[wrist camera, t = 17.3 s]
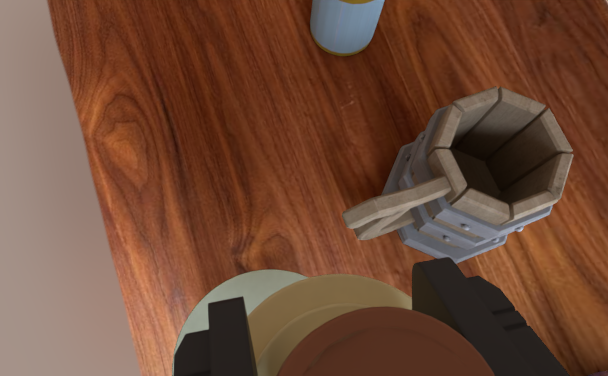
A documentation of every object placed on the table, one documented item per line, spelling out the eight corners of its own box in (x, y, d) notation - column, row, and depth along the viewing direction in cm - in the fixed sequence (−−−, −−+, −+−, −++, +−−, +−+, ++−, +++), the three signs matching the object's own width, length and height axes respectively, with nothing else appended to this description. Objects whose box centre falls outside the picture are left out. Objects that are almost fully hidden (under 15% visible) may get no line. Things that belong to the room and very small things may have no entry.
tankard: (474, 123, 57) (543, 48, 42) (530, 233, 53) (626, 191, 39) (299, 187, 53) (310, 129, 39) (348, 307, 50) (379, 292, 36)
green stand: (316, 424, 47) (353, 487, 26) (204, 407, 47) (151, 456, 26) (331, 310, 50) (375, 284, 29) (226, 293, 50) (194, 255, 29)
